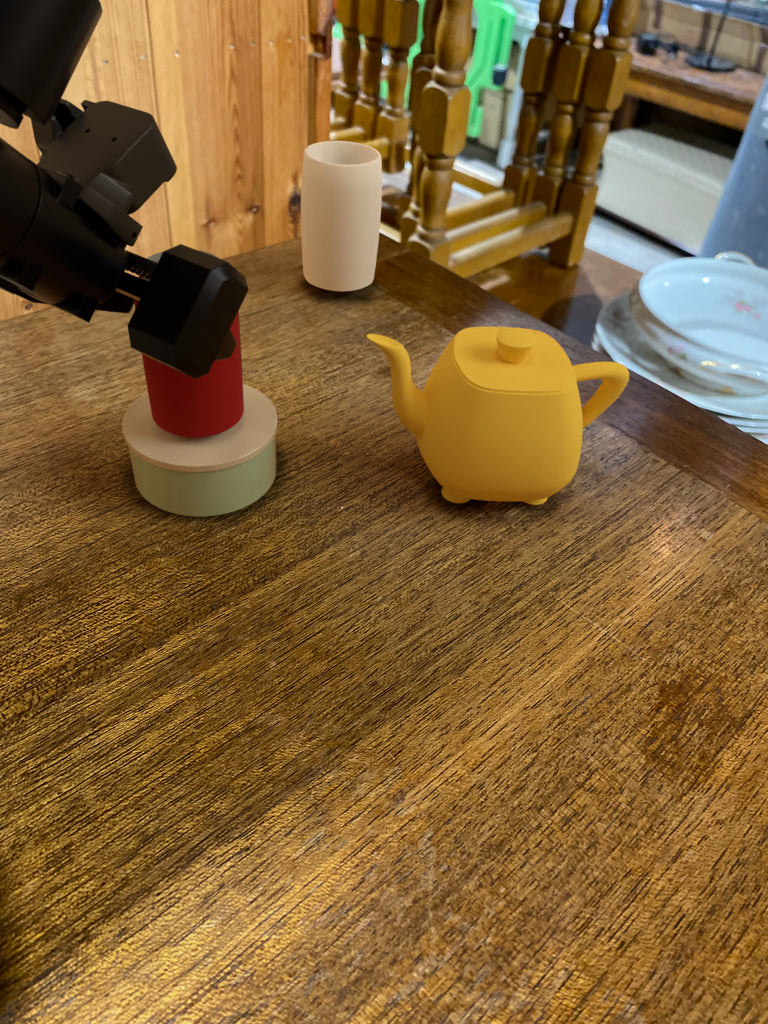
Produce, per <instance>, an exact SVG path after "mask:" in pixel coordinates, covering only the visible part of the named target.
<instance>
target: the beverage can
mask: <svg viewBox="0 0 768 1024" xmlns="http://www.w3.org/2000/svg"><path fill="white" fill-rule="evenodd" d="M197 250H198V249H197ZM198 251H200V252H203V253H206V254H208V255H211V256H214V257H216V258H219V259H221V258H220V257H219V256H217V255H216V254H214V253H211V252H207V251H204V250H198ZM162 253H163V251H160V252H157V253H154V254H152V255H150V256H148V257H147V259H149V260H152V261H154V262H157V263H158V261H159V259H160V257H161V255H162ZM138 277H139V278H141V279H144V280H146V281H149V280H150V279H149V280H148V279H146V278H145V277H144V278H143V277H141V276H140V275H139V276H138ZM138 303H139V301H138V300H135V299H134V305H133V306H134V310H135V309H136V307H137V305H138ZM230 330H231V332H232V334H233V336H234V338H235V341H236V343H237V345H236V347H235V350H234V352H233V354H232V356H231V357H230V358H228V359H222V360H217V361H214V362H213V364H212V366H211V369H210V371H209V373H208V374H206V375H204V376H202V377H200V378H198V379H194V378H192V377H190V376H188V375H185V374H183V373H181V372H179V371H177V370H175V369H173V368H170V367H168V366H166V365H164V364H162V363H160V362H158V361H156V360H154V359H152V358H150V357H148V356H146V355H144V354H142V353H141V357H142V362H143V370H144V376H145V384H146V389H147V392H148V395H149V401H150V407H151V412H152V417H153V419H154V421H155V423H156V424H157V425H158V426H159V427H160V428H162V429H163V430H165V431H167V432H169V433H171V434H174V435H178V436H183V437H188V438H206V437H211V436H214V435H217V434H219V433H222V432H224V431H226V430H228V429H230V428H232V427H233V426H234V425H236V424H237V423H238V422H239V420H240V419H241V418H242V415H243V412H244V398H243V384H244V379H243V360H242V342H241V340H242V339H241V327H240V310H239V311H238V313H237V315H236V317H235V319H234V321H233V323H232V325H231V327H230Z"/></svg>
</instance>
